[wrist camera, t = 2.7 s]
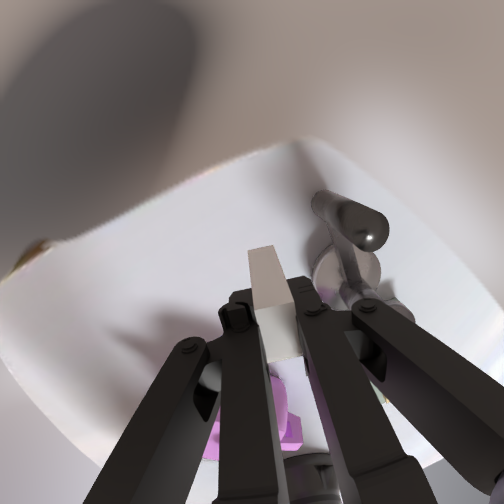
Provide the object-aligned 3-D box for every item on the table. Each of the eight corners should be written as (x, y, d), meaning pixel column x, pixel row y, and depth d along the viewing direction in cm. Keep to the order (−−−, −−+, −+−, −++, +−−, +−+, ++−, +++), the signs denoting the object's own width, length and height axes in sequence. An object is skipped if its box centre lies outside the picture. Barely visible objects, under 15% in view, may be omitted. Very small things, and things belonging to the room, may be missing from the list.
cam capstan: (379, 288, 30) (428, 341, 20) (322, 312, 30) (355, 378, 20) (350, 177, 26) (411, 193, 16) (283, 203, 26) (313, 233, 16)
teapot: (158, 401, 35) (144, 459, 25) (167, 348, 31) (147, 412, 22) (280, 423, 37) (289, 479, 27) (308, 376, 34) (327, 437, 24)
